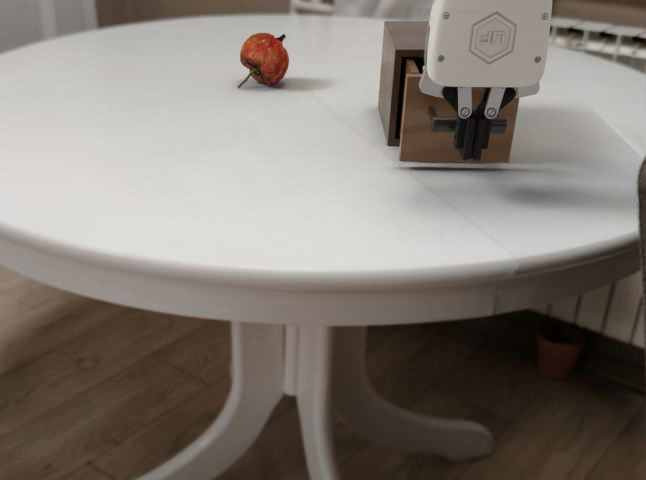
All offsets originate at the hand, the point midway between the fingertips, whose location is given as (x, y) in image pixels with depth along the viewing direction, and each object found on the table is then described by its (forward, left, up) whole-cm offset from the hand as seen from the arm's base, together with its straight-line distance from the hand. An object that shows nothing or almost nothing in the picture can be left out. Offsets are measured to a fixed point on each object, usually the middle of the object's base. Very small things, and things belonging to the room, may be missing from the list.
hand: (468, 155), depth 77 cm
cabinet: (0, -23, -4) cm, 23 cm away
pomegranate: (+22, -41, -4) cm, 47 cm away
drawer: (0, -12, -3) cm, 12 cm away
